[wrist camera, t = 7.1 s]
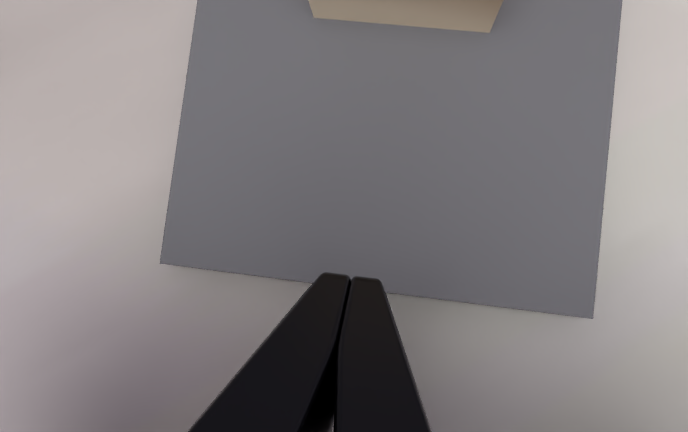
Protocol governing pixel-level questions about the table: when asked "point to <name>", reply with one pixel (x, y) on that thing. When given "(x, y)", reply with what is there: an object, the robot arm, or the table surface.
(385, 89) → the rubber mat
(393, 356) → the robot arm
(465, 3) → the maple block
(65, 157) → the table surface
